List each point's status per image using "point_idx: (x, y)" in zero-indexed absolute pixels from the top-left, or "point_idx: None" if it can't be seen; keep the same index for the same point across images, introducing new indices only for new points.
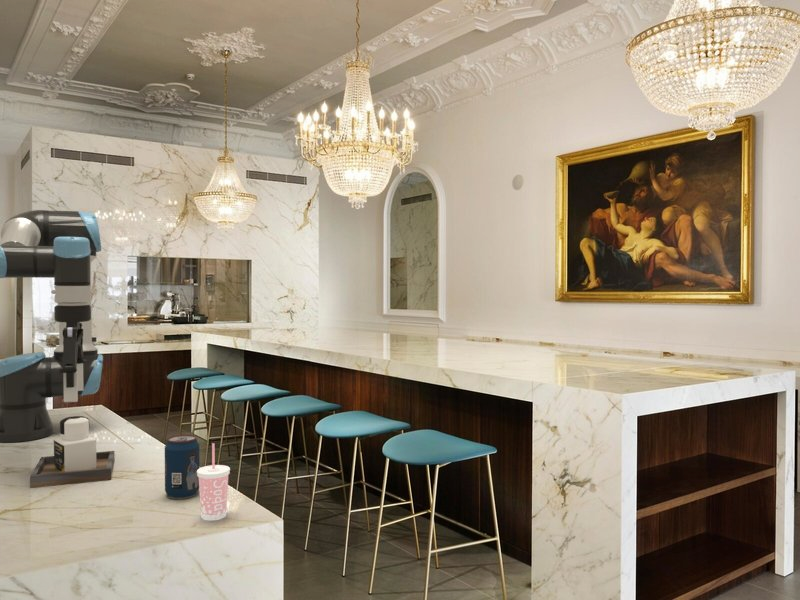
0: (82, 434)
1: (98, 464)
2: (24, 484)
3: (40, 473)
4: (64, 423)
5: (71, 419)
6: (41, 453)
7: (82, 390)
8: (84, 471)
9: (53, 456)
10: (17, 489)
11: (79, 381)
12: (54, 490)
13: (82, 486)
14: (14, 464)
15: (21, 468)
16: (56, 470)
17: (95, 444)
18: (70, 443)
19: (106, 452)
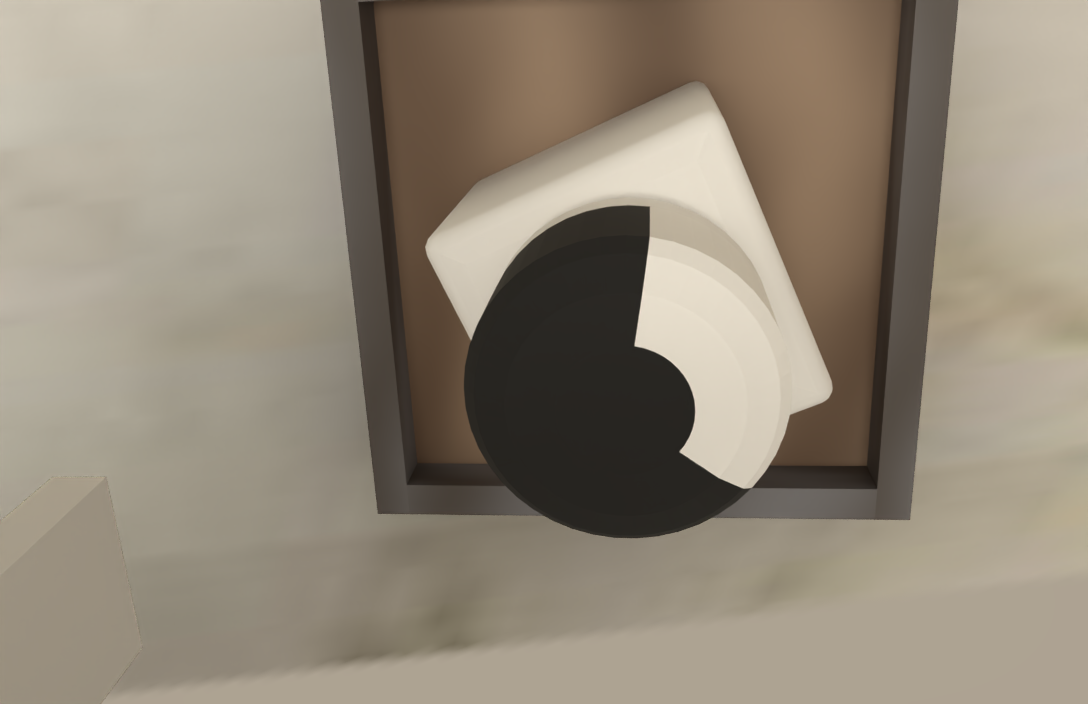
0: (748, 259)
1: (555, 78)
2: (788, 521)
3: None
4: (749, 486)
5: (716, 435)
6: None
7: (104, 487)
8: (941, 155)
9: (386, 435)
10: (890, 544)
11: (24, 627)
12: (1031, 325)
13: (1024, 145)
14: (275, 634)
15: (386, 585)
16: None
17: (718, 110)
18: (809, 342)
19: (359, 31)
